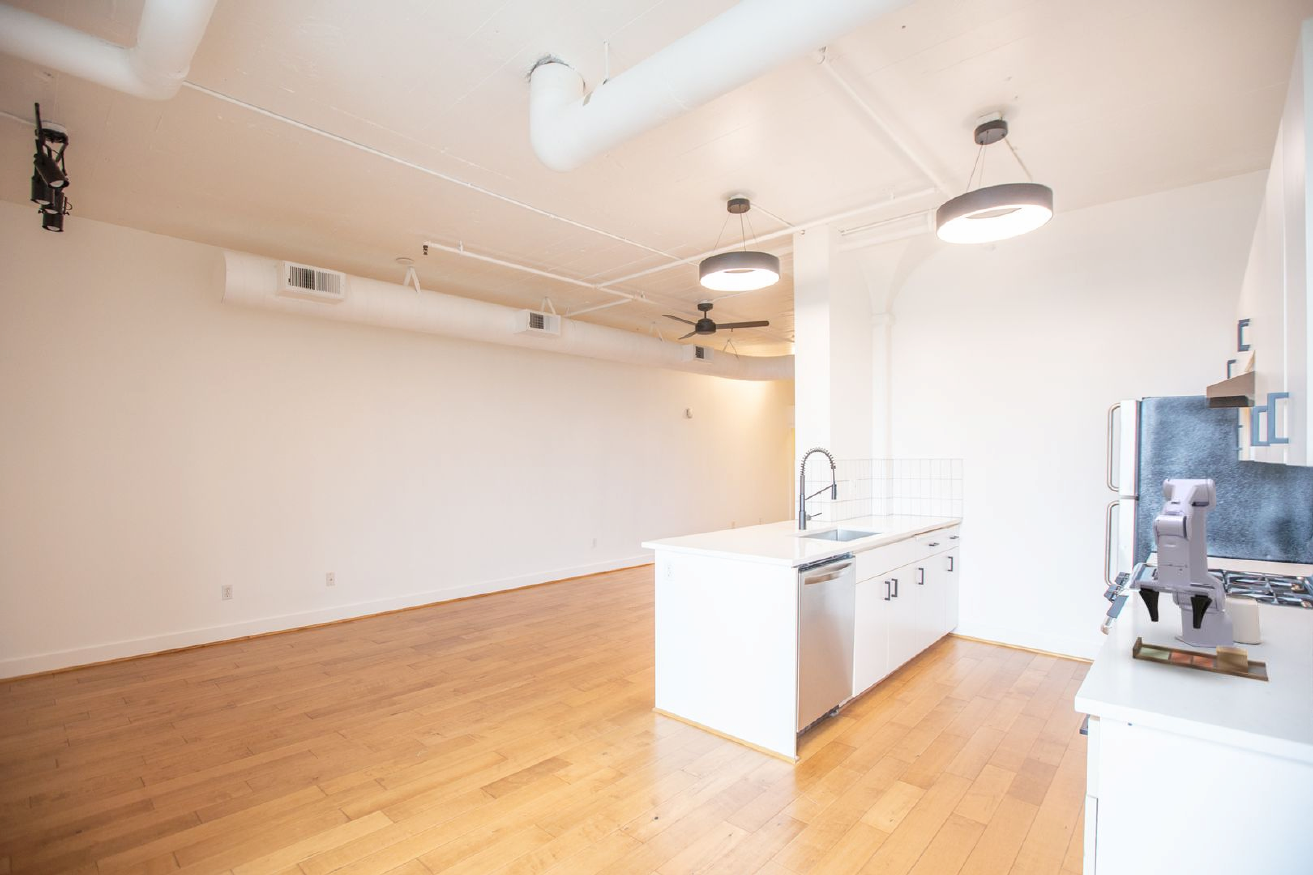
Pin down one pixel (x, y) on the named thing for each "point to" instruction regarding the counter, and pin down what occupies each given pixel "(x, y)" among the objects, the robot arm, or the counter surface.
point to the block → (1232, 659)
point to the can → (1243, 617)
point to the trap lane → (1194, 660)
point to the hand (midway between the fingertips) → (1175, 624)
